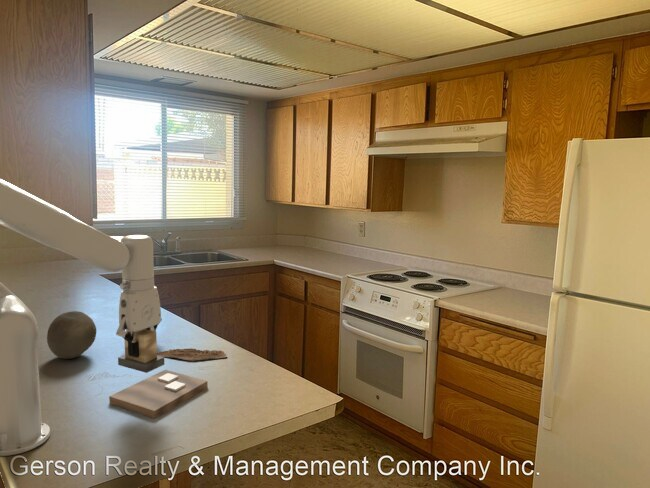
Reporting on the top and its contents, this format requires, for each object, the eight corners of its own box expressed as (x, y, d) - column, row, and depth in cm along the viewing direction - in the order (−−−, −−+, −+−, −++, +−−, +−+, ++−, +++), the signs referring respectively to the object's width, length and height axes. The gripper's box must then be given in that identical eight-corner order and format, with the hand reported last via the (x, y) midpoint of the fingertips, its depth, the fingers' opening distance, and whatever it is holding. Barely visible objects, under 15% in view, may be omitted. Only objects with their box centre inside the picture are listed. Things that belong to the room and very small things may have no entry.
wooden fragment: (232, 352, 166) (232, 349, 166) (222, 364, 155) (222, 361, 155) (159, 348, 168) (159, 345, 168) (145, 360, 157) (145, 357, 157)
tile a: (175, 391, 131) (175, 389, 130) (164, 388, 132) (164, 386, 132) (185, 386, 134) (185, 384, 134) (174, 382, 136) (174, 380, 136)
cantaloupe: (48, 369, 147) (46, 321, 145) (47, 353, 159) (45, 309, 157) (99, 361, 155) (97, 315, 152) (94, 346, 167) (92, 304, 164)
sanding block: (146, 372, 120) (145, 338, 119) (118, 364, 125) (116, 331, 123) (164, 364, 126) (163, 331, 124) (136, 357, 130) (135, 325, 129)
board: (154, 418, 120) (154, 410, 120) (109, 403, 127) (109, 396, 127) (207, 387, 138) (207, 380, 138) (165, 375, 145) (165, 369, 145)
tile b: (168, 383, 136) (168, 381, 136) (157, 380, 137) (157, 378, 137) (178, 377, 139) (178, 375, 139) (168, 375, 141) (168, 373, 141)
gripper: (122, 293, 113) (125, 367, 116) (173, 279, 128) (175, 345, 131) (99, 289, 116) (103, 361, 119) (152, 276, 131) (154, 340, 134)
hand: (141, 352), depth 125 cm, fingers closed on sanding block, 4 cm apart
